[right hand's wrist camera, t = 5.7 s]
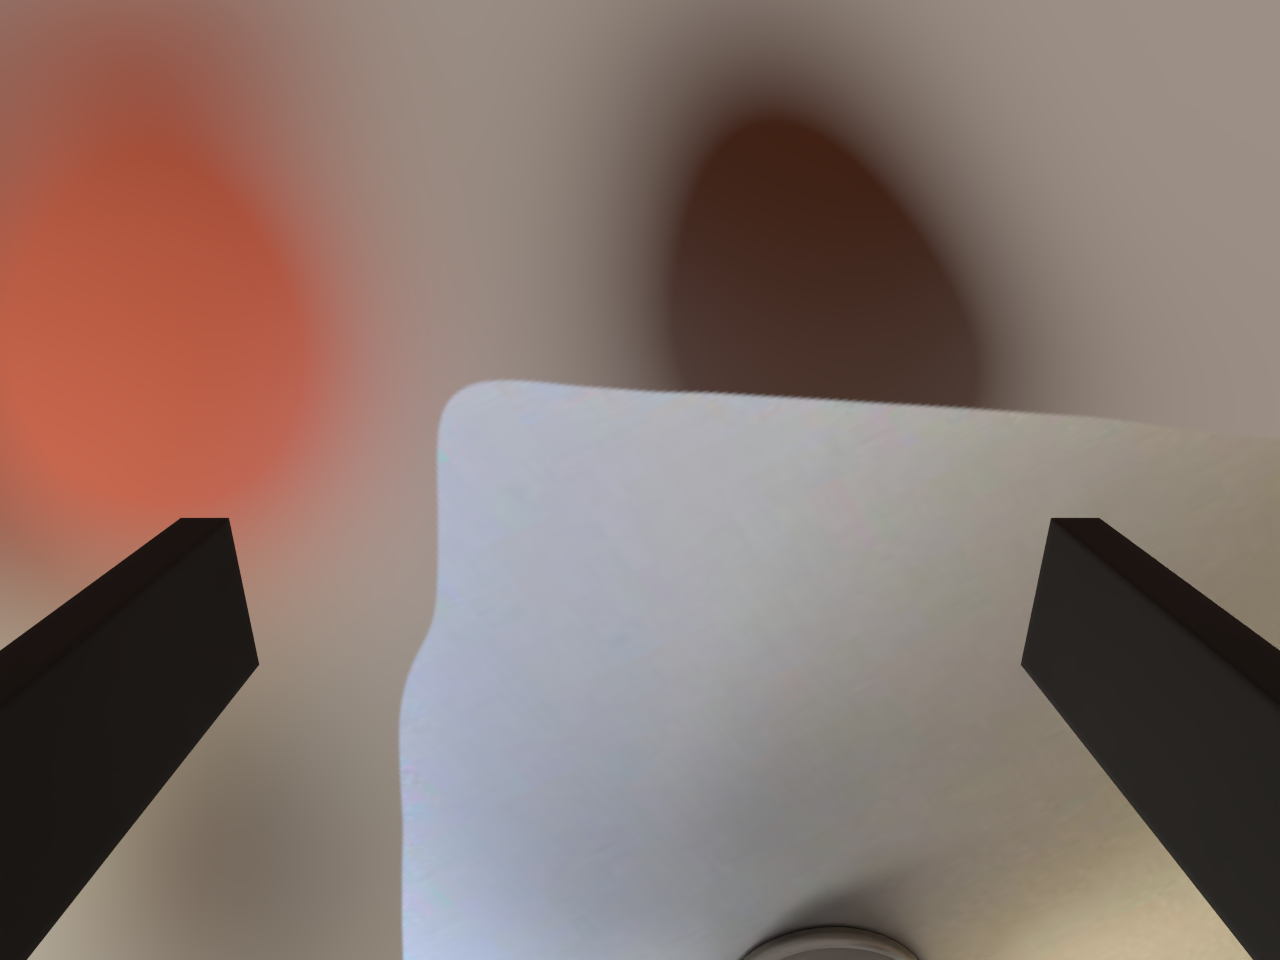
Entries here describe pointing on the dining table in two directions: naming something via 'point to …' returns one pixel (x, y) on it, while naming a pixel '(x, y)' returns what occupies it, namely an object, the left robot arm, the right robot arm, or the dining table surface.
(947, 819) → the dining table surface
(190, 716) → the right robot arm
